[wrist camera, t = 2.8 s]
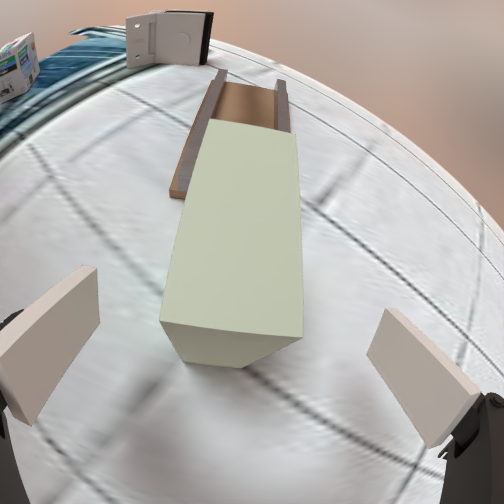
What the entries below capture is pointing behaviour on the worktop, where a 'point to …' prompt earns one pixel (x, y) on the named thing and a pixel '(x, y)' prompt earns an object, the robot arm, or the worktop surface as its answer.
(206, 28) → the hinge
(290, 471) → the worktop surface
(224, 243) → the door panel
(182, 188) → the track
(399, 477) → the worktop surface
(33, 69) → the light bulb box
